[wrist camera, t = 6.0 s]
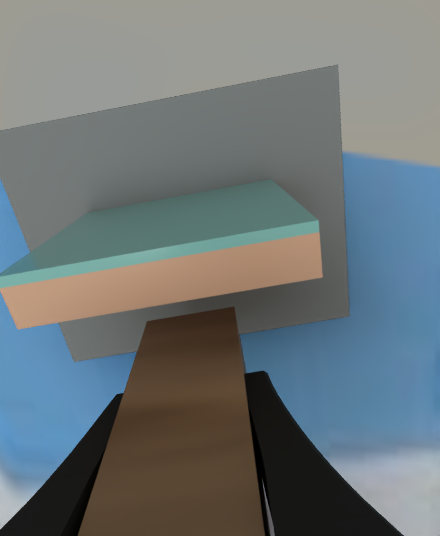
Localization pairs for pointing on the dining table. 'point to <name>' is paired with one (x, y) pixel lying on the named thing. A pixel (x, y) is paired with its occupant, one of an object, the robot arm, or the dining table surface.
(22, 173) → the mat
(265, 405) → the robot arm
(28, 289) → the tile
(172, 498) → the peg
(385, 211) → the dining table surface
